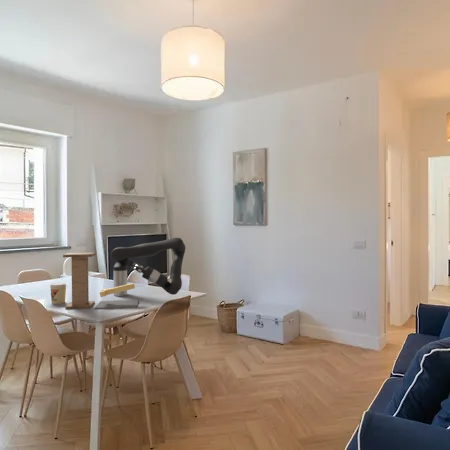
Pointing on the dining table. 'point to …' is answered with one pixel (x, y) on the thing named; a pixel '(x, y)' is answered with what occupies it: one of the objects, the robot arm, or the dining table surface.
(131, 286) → the mustard bar
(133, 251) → the robot arm
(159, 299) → the dining table surface
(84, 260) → the walnut stand
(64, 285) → the coffee cup
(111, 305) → the grey mat
